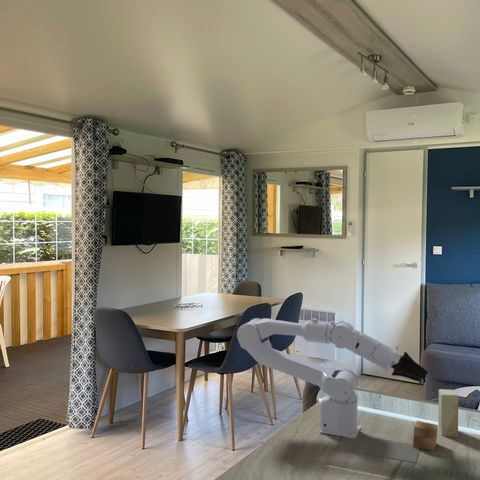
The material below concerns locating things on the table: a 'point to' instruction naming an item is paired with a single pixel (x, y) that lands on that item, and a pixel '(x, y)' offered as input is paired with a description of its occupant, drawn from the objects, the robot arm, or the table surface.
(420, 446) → the cube
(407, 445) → the mat
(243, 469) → the table surface
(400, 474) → the table surface
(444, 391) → the box
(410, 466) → the table surface
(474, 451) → the table surface
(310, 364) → the robot arm
